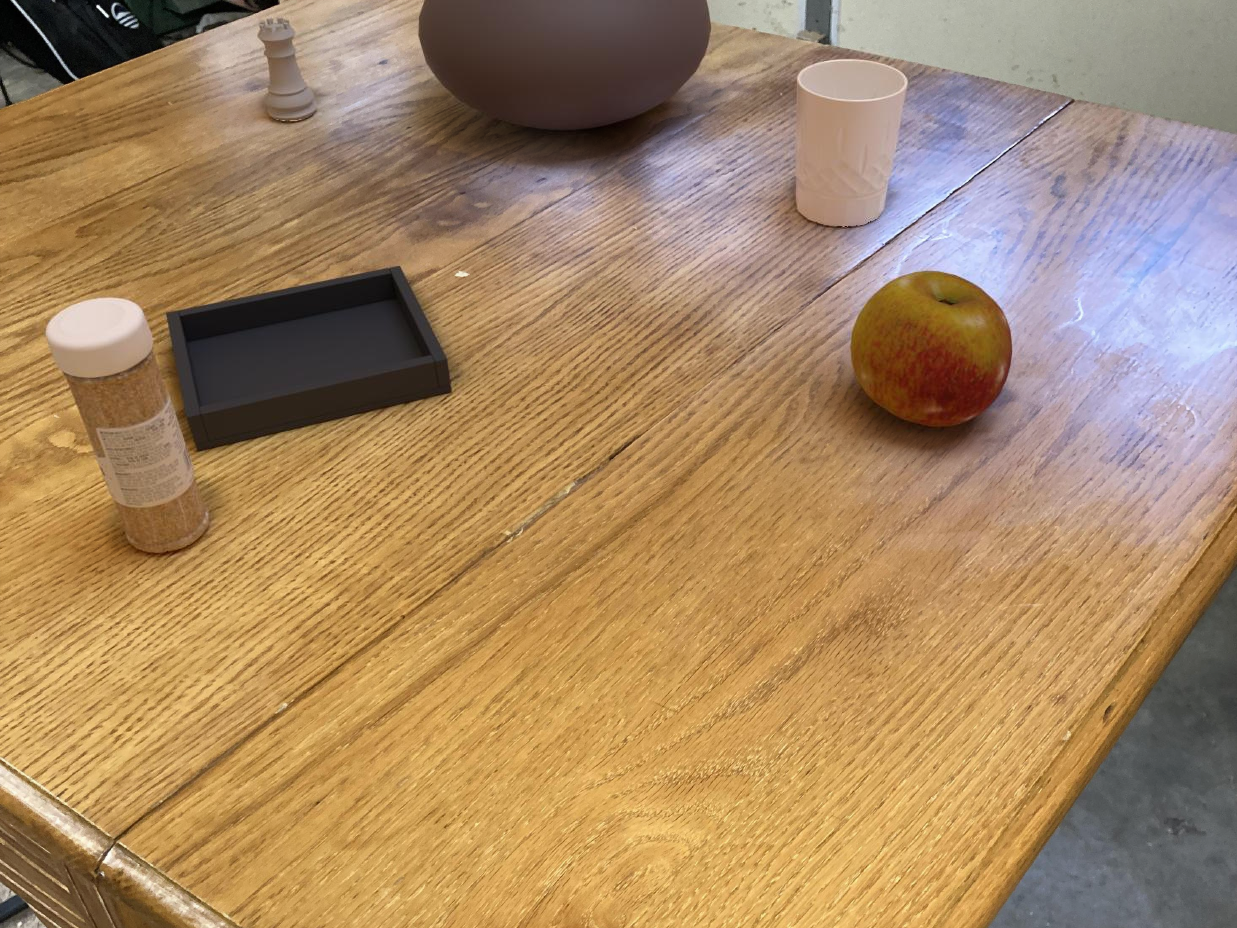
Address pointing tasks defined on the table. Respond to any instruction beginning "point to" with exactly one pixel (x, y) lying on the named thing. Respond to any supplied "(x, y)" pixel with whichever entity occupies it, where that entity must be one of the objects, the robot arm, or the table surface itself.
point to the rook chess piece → (284, 74)
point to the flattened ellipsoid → (563, 56)
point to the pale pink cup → (846, 139)
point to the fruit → (932, 348)
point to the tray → (304, 356)
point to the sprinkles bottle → (129, 421)
